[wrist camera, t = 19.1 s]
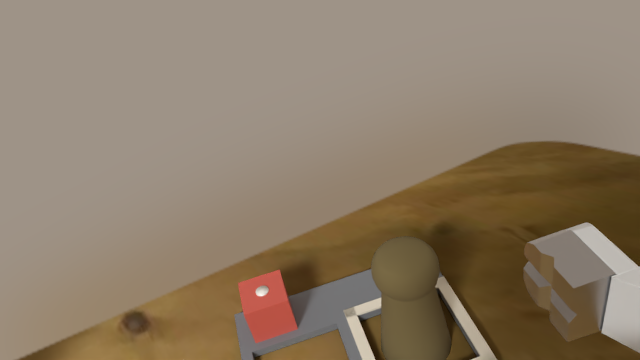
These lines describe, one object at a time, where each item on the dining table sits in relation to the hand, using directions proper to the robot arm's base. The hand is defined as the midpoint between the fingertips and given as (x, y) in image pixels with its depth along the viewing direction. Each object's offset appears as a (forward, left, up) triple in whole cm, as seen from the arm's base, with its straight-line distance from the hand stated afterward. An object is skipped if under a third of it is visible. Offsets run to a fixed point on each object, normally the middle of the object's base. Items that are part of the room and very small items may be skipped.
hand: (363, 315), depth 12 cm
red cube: (-5, +27, -29) cm, 40 cm away
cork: (+7, +20, -30) cm, 37 cm away
